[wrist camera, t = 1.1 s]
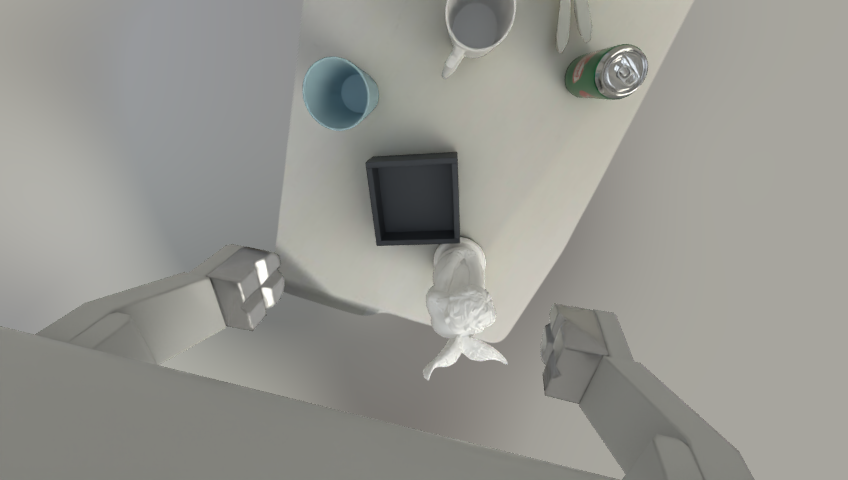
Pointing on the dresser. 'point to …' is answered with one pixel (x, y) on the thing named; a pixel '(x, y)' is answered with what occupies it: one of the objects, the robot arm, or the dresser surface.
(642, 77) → the soda can
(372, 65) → the dresser surface
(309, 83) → the cup
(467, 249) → the cherub figurine
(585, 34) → the toy
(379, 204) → the bin
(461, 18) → the mug
